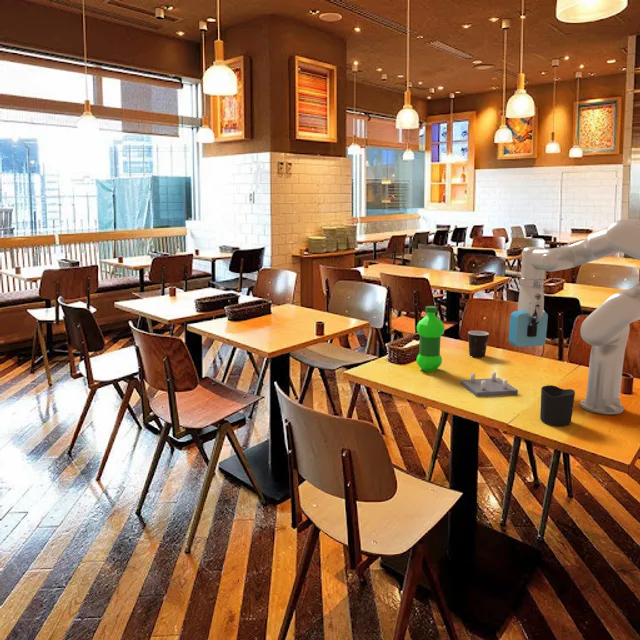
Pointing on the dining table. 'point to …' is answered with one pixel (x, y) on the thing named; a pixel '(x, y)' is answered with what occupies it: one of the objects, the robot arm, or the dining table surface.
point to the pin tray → (488, 386)
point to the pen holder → (556, 405)
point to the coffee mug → (477, 343)
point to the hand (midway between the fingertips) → (527, 334)
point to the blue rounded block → (520, 327)
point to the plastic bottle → (429, 340)
